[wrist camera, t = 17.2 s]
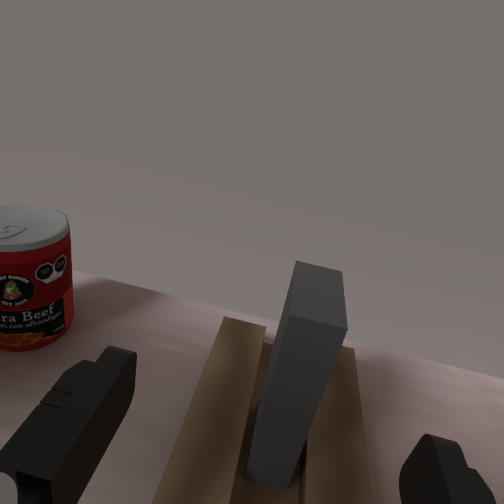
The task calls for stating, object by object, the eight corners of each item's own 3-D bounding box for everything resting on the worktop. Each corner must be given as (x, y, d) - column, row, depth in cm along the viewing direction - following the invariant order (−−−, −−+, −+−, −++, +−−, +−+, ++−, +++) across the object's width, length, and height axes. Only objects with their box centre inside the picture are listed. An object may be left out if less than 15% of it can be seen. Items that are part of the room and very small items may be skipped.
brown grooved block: (118, 619, 20) (119, 588, 18) (219, 343, 39) (224, 316, 37) (367, 696, 19) (391, 670, 17) (343, 375, 38) (354, 349, 37)
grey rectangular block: (243, 478, 26) (289, 314, 19) (256, 407, 31) (296, 260, 25) (289, 490, 25) (351, 330, 19) (294, 417, 31) (344, 272, 24)
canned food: (-32, 356, 32) (-58, 242, 27) (-3, 300, 39) (-19, 200, 34) (67, 352, 35) (60, 246, 29) (79, 299, 41) (75, 206, 36)
